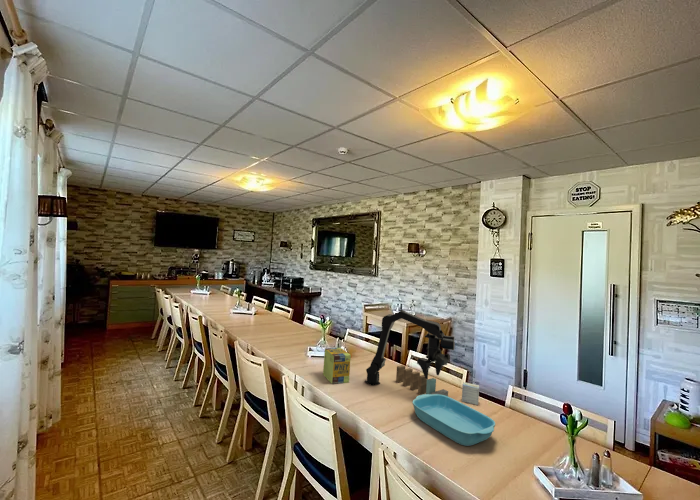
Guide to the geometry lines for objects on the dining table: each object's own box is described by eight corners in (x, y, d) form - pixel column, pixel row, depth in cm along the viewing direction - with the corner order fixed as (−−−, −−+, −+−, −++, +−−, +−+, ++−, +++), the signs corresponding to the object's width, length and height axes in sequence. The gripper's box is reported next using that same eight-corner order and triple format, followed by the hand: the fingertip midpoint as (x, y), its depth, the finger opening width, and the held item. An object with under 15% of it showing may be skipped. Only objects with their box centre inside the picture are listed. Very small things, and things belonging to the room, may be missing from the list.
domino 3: (419, 388, 175) (420, 372, 175) (412, 390, 172) (413, 373, 172) (416, 387, 176) (417, 371, 177) (410, 389, 173) (411, 372, 174)
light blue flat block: (425, 397, 165) (426, 379, 165) (432, 395, 168) (433, 377, 168) (428, 398, 163) (429, 380, 163) (435, 396, 166) (436, 379, 166)
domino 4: (426, 392, 170) (427, 375, 171) (420, 394, 167) (421, 377, 168) (424, 391, 172) (425, 374, 172) (417, 392, 169) (418, 376, 169)
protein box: (331, 384, 172) (333, 356, 173) (322, 374, 186) (324, 348, 187) (349, 382, 177) (351, 354, 177) (339, 372, 191) (340, 347, 191)
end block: (435, 404, 157) (435, 395, 157) (430, 401, 159) (430, 392, 159) (447, 400, 163) (448, 391, 163) (442, 397, 165) (443, 389, 165)
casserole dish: (402, 413, 146) (403, 397, 146) (435, 403, 158) (436, 389, 158) (471, 458, 115) (472, 438, 115) (506, 443, 127) (507, 425, 127)
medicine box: (478, 402, 163) (479, 385, 163) (478, 405, 159) (479, 388, 159) (462, 398, 166) (463, 381, 166) (461, 401, 162) (462, 384, 162)
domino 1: (404, 381, 184) (405, 366, 184) (398, 383, 181) (399, 367, 181) (402, 380, 185) (402, 365, 185) (395, 382, 182) (396, 366, 183)
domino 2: (411, 385, 179) (412, 369, 179) (405, 386, 176) (406, 370, 176) (409, 383, 181) (409, 368, 181) (402, 385, 178) (403, 369, 178)
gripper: (434, 353, 154) (432, 385, 153) (457, 348, 165) (456, 379, 165) (417, 347, 163) (415, 377, 162) (440, 343, 174) (438, 372, 173)
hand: (432, 376), depth 165 cm, fingers open, 9 cm apart
